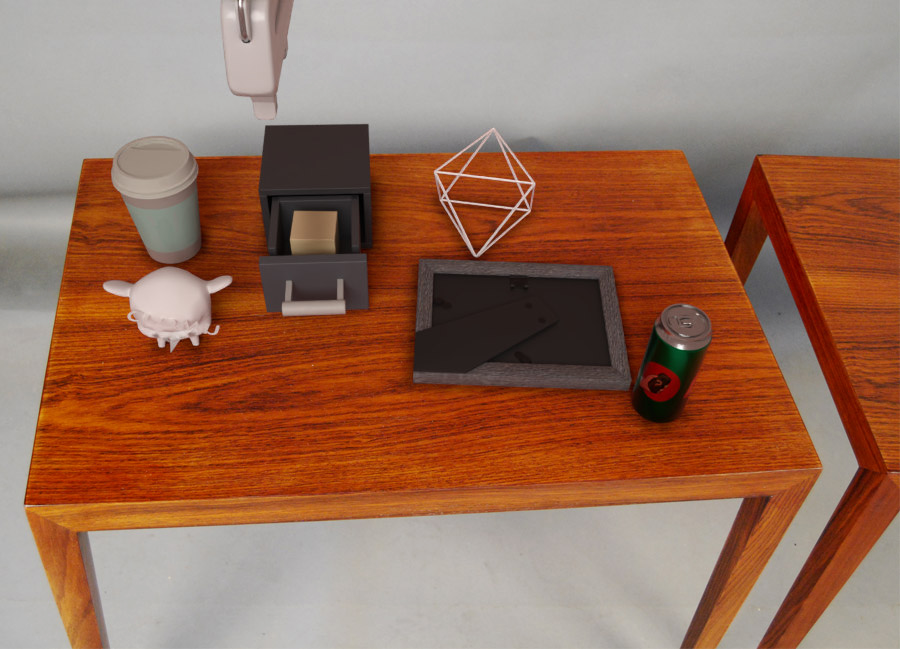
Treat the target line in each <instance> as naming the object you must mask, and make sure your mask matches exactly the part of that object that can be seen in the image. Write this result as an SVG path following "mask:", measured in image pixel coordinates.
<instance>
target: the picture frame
mask: <svg viewBox="0 0 900 649" xmlns="http://www.w3.org/2000/svg"><path fill="white" fill-rule="evenodd" d="M417 278H418V279H417V294H416V295H417V296H416V297H417V298H416V315H415V332H414V333H415V334H414V336H415V337H414V350H413V351H414V352H413V370H412V384H429V385H431V384H432V385H456V386H457V385H458V386H460V385H461V386H483V387H484V386H485V387H486V386H487V387H512V388H513V387H515V388H538V389H539V388H540V389H541V388H542V389H569V390H572V389H573V390H597V391H598V390H599V391H624V392H626V391H627V392H629V390H630V386H631V384H632V375H631V369H630V363H629V357H628V351H627V346H626V340H625V335H624V328H623V322H622V316H621V310H620V304H619V297H618V293H617V292H618V291H617V287H616V280H615V274H614V268H613V265H599V264H598V265H597V264H596V265H594V264H593V265H592V264H573V263H572V264H571V263H570V264H568V263H545V262H521V261H519V262H518V261H517V262H516V261H497V260H496V261H493V260H492V261H491V260H469V259H468V260H467V259H444V258H441V259H439V258H419V260H418V277H417Z"/></svg>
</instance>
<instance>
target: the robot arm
mask: <svg viewBox="0 0 900 649" xmlns="http://www.w3.org/2000/svg"><path fill="white" fill-rule="evenodd" d="M294 2H295V0H220V27H221V38H222V49H223V59H224V67H225V75H226V82H227V86H228V89H229V90H230V92H231V94H232V95H234V96H236V97H244V98H246V97H247V98H250V100H251V102H252V108H253V115H254V117H255V119H258V120H260V121H261V120H262V121H273V120H275V119H276V118H277V115H278V108H279V107H278V106H279V105H278V95H277V93H278V91H279V86H280V81H281V74H282V68H283V63H284V60H285V59H286V58H287V56H288V50H289V42H288V41H289V40H288V35H289V31H290V30H289V29H290V23H291V18H292V12H293V8H294Z"/></svg>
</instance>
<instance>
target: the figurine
mask: <svg viewBox="0 0 900 649" xmlns="http://www.w3.org/2000/svg"><path fill="white" fill-rule="evenodd" d="M232 282H233V276H231V275H220V276H218V277H216V278H213V279H211V280H205V279H202V278H200V277H199V276H197V275H195V274H192V273H191V272H189V271H188V270H186V269H183V268H180V267H176V266H164V267H160V268H158V269H155V270H153V271H151V272H149V273H147V274H146V275H144V276H143V277H141V278H140V279H138V281H136V282H135V283H132V282H128V281H124V280H119V279H112V280H107V281H104V282H103V284H102V288H103V289H104V291H106V292H107V293H110V294H112V295H115V296H119V297H123V298H129V301H128V302H129V308H130V312H129V313H128V314H127V319H128V320H129V321H131V322H136V324H137V329H138V330H139V332H141V334H143V335H144V336H145V337H148V338H151V339H156V341H157V344H158V347H159V348H165V347H166V343H169V348H170V350H169V351H170V353H172V352H173V350H174V349H175V348H176V346H177V345H178V344H179V342H180V340H185V339H190V341H191V344H192V345H193V346H196V347H197V346H199V345H200V337H199V336H200V335H202V334H208V335H210V336H216V335H217V334H218V333H219V330H220V327H221V325H218V324H216V326H215V329H214V332H209V331H208V330H209V328H210V327H211V325H212V298H211V294H214V293H217V292H219V291H221V290H223V289H225V288H227V287H228V286H230V285H231V284H232ZM132 315H133V317H134V318H132Z"/></svg>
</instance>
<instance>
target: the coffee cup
mask: <svg viewBox="0 0 900 649" xmlns="http://www.w3.org/2000/svg"><path fill="white" fill-rule="evenodd" d="M112 158H113V159H112V167H111V171H110V174H111V182H112V185H113V187H114V188H115V189H116V190H117V192H119V193H120V195H121V198H122V200H123V202H124V204H125V207H126V208H127V210H128V213H129V215H130V218H131V219H132V221H133V223H134V225H135V228H136V230H137V232H138V234H139V236H140V240H142V243H143V245H144V247H145V249H146V251H147V254H148V255H149V256H150V258H151V259H152V260H154V261H156V262H158V263H161V264H167V265H168V264H169V265H170V264H171V265H173V264H180V263H183V262H186V261H188V260H190V259H192V258H193V257H194V256H196V255H197V254H198V253H199V252H200V250H201V247H202V244H203V243H202V229H201V218H200V217H201V216H200V204H199V192H198V180H197V177H198V175H199V165H198V162H197V160H196V157H195V156H194V155H193V153H192V152H191V151H190V150H189V148H188V146H187V145H186V144H185V143H184V142H182V141H181V140H179V139H177V138H174V137H171V136H165V135H151V136H145V137H140V138H137V139H134V140H131V141H129V142H127V143H126V144H124V145H123V146H122V147H120V148H119V149H118V150H117V151H116V153H115V154H114V156H113V157H112Z"/></svg>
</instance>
